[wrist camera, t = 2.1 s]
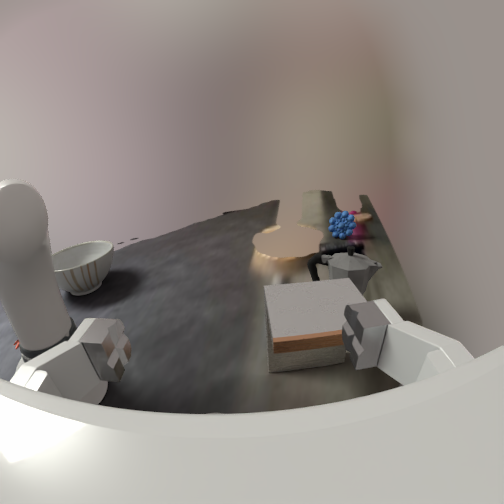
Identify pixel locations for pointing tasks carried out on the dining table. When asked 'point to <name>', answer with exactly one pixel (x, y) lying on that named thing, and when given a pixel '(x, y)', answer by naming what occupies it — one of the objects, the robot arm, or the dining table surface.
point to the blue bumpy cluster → (342, 224)
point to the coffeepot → (346, 267)
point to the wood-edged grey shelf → (307, 323)
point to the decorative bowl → (83, 266)
